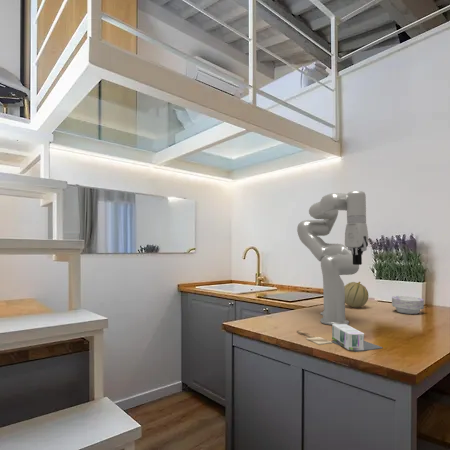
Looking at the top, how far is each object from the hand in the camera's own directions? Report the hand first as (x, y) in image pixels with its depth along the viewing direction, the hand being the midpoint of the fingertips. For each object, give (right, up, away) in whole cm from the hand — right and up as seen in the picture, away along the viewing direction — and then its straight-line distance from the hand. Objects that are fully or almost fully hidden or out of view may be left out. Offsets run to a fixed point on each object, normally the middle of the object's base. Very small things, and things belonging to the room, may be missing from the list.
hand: (357, 264), depth 143 cm
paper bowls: (+43, -31, +41) cm, 67 cm away
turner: (-21, -28, -9) cm, 36 cm away
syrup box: (-11, -24, -11) cm, 29 cm away
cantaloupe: (+20, -32, +56) cm, 68 cm away
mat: (-8, -27, -19) cm, 34 cm away
